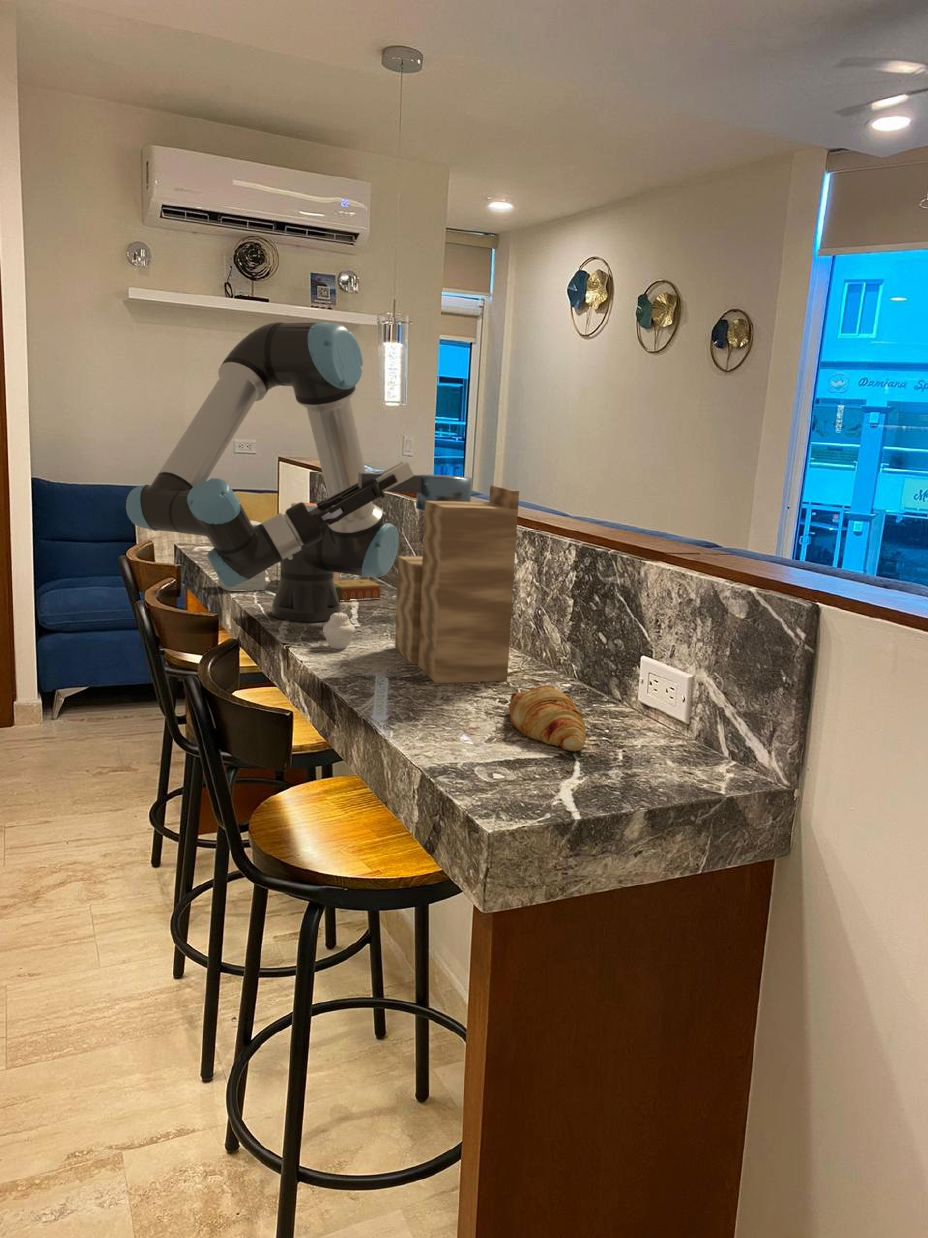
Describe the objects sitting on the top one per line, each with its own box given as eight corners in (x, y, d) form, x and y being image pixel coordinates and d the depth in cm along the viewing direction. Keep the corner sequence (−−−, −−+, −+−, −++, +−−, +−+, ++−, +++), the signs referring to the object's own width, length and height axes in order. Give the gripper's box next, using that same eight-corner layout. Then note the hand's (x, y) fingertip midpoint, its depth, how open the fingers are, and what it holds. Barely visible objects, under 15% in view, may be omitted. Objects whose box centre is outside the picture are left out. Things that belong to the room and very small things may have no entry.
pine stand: (395, 647, 184) (401, 477, 177) (463, 645, 188) (471, 479, 181) (430, 683, 160) (438, 488, 153) (507, 680, 164) (519, 491, 157)
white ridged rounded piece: (321, 643, 184) (321, 608, 182) (352, 643, 185) (353, 608, 184) (324, 651, 178) (325, 615, 176) (356, 650, 179) (357, 615, 178)
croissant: (595, 778, 130) (623, 728, 130) (541, 752, 125) (570, 700, 125) (527, 727, 149) (551, 683, 149) (478, 703, 144) (503, 658, 144)
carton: (380, 601, 231) (381, 584, 230) (318, 604, 224) (318, 586, 223) (367, 594, 238) (367, 578, 237) (307, 597, 231) (307, 580, 230)
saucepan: (353, 504, 173) (354, 471, 172) (460, 507, 180) (462, 475, 179) (364, 509, 164) (365, 474, 163) (477, 512, 170) (479, 479, 169)
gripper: (298, 542, 175) (406, 483, 179) (310, 554, 160) (428, 489, 164) (278, 507, 172) (388, 448, 176) (289, 516, 157) (409, 451, 161)
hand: (407, 468), depth 170 cm, fingers closed on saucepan, 3 cm apart
